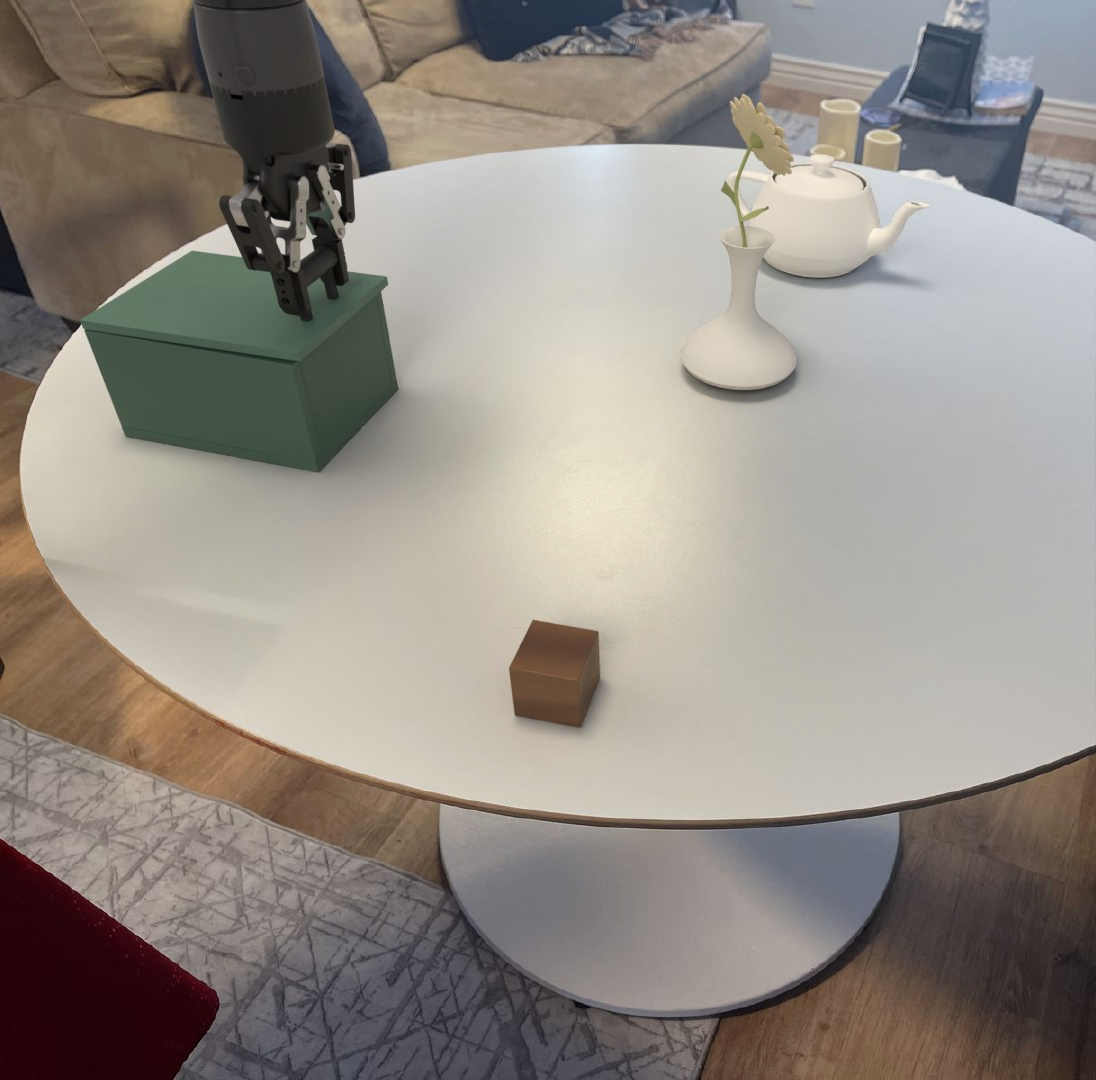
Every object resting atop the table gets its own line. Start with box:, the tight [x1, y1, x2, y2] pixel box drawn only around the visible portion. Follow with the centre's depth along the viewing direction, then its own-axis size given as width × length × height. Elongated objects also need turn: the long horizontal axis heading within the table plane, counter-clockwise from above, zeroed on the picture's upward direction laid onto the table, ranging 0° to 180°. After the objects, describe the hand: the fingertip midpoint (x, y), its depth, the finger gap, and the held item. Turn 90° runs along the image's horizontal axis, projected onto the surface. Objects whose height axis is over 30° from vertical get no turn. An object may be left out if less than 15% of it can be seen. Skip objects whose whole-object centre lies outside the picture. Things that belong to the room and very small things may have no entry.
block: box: [508, 619, 601, 729], centre depth 63 cm, size 4×4×4 cm
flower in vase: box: [679, 93, 798, 391], centre depth 91 cm, size 13×11×25 cm
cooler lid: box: [79, 245, 389, 361], centre depth 81 cm, size 19×14×5 cm
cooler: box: [83, 291, 399, 473], centre depth 86 cm, size 18×14×10 cm
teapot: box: [726, 153, 931, 279], centre depth 116 cm, size 25×16×12 cm, turn 61°
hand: (316, 297), depth 80 cm, fingers closed on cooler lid, 5 cm apart
